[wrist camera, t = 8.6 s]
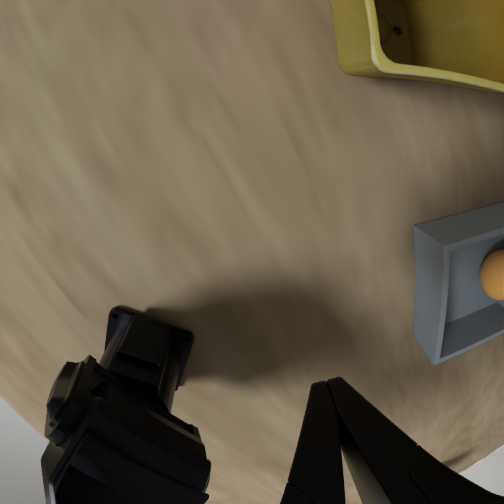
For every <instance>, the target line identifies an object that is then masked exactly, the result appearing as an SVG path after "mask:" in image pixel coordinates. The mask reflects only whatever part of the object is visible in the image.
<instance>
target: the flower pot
mask: <svg viewBox="0 0 504 504" xmlns="http://www.w3.org/2000/svg"><path fill="white" fill-rule="evenodd" d="M330 6H331V12H332V18H333V25H334V32H335V40H336V49H337V59H338V65H339V67H340V69H341V70H342V71H343V72H344V73H346V74H348V75H352V76H362V77H386V78H400V79H411V80H419V81H427V82H433V83H440V84H446V85H451V86H456V87H461V88H468V89H475V90H482V91H489V92H495V93H501V94H504V0H330ZM395 27H396V28H398V29H399V30H400V34H399V35H396V34H395V33H394V32H393V28H395Z"/></svg>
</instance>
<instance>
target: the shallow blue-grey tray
mask: <svg viewBox="0 0 504 504" xmlns="http://www.w3.org/2000/svg"><path fill="white" fill-rule="evenodd" d="M413 227H414V251H415V306H414V329H413V337H414V338H415V340H416V341H417V342H418V344H419V345H420V347H421V348H422V350H423V351H424V352H425V354H426V355H427V357H428V358H429V360H430V361H431V363H432V364H433V365H436V364H439V363H441V362H444V361H446V360H448V359H451V358H453V357H455V356H457V355H460V354H462V353H464V352H466V351H469V350H471V349H473V348H475V347H477V346H479V345H481V344H483V343H485V342H487V341H489V340H491V339H493V338H495V337H497V336H499V335H501V334H503V333H504V300H496V299H493V298H491V297H490V296H488V295H487V294H486V292H485V291H484V289H483V288H482V285H481V281H480V270H481V267H482V264H483V262H484V260H485V259H486V258H487V256H488V255H490V254H491V253H492V252H494V251H497V250H504V202H501V203H497V204H493V205H490V206H486V207H482V208H478V209H475V210H471V211H467V212H463V213H459V214H456V215H452V216H448V217H444V218H440V219H437V220H433V221H429V222H425V223H421V224H417V225H413Z"/></svg>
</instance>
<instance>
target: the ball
mask: <svg viewBox="0 0 504 504" xmlns="http://www.w3.org/2000/svg"><path fill="white" fill-rule="evenodd" d="M480 281H481V285H482V288H483V289H484V291H485V292H486V294H487V295H488V296H490V297H491V298H493V299H496V300H504V250H497V251H494V252H492V253H491V254H490V255H488V256H487V258H486V259H485V260H484V262H483V264H482V267H481V270H480Z"/></svg>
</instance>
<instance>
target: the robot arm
mask: <svg viewBox="0 0 504 504" xmlns="http://www.w3.org/2000/svg"><path fill="white" fill-rule="evenodd" d="M114 313H116V314H117V315H118V316H116V315H115V314H114ZM185 337H189V338H190V339H186V338H185ZM193 342H194V334H193V333H192V332H190V331H187V330H183V329H180V328H177V327H174V326H171V325H168V324H165V323H162V322H159V321H156V320H153V319H150V318H147V317H144V316H141V315H138V314H134V313H131V312H128V311H125V310H123V309H120V308H116V307H115V308H112V309H111V311H110V313H109V318H108V326H107V334H106V342H105V351H104V354H103V356H102V358H101V360H100V362H99V364H98V363H97V362H96V359H94V358H93V357H92V356H91V355H89V356H88V357H87V358H86V359H85V360H84V361H81V362H80V363H79V362H77V363H74V362H68V361H67V362H66V364H65V365H64V366H63V368H62V369H61V371H60V373H59V375H58V376H57V378H56V380H55V382H54V384H53V386H52V389H51V392H50V395H49V398H48V401H47V404H46V406H47V415H46V424H45V437H46V438H48V439H49V440H50V442H49V444H48V446H47V447H46V450H45V451H44V453H43V455H42V458H41V468H42V476H43V484H44V491H45V497H46V504H204V503H205V502H206V501H207V500H208V498H209V494H207V493H205V491H206V488H207V486H208V483H209V479H210V472H211V462H210V460H208V459H206V458H207V457H206V451H205V446H204V444H203V443H202V441H201V438H200V434H199V431H198V428H197V427H195V426H193V425H192V424H190V425H189V424H187V423H186V422H184V421H182V420H181V419H179V418H177V417H176V416H174V415H172V414H171V408H172V403H173V398H174V393H175V391H177V389H178V386H179V383H180V380H181V377H182V374H183V371H184V368H185V365H186V362H187V359H188V356H189V353H190V350H191V347H192V344H193ZM416 446H417V447H416ZM341 450H342V453H343V455H344V458H345V460H346V463H347V465H348V468H349V470H350V473H351V476H352V478H353V481H354V483H355V486H356V488H357V491H358V493H359V496H360V498H361V501H362V503H363V504H504V496H500V495H496V494H494V493H491V492H489V491H487V490H485V489H484V488H482V487H480V486H478V485H477V484H475V483H473V482H471V481H470V480H468V479H466V478H465V477H463V476H461V475H459V474H458V473H456V472H455V471H453V470H451V469H450V468H448V467H447V466H445V465H444V464H442V463H441V462H439V461H438V460H437V459H436V458H434V457H433V456H432V455H430V454H429V453H428V452H427V451H425V450H424V449H423V448H422V447H421V446H420V445H417V443H416V442H415V441H413V440H412V439H411V438H410V437H409V436H408V435H406V434H405V433H404V432H403V431H402V430H401V429H399V428H398V427H397V426H396V425H395V424H394V423H393V422H391V421H390V420H389V419H388V418H387V417H386V416H385V415H383V414H382V413H381V412H380V411H379V410H378V409H377V408H375V407H374V406H373V405H372V404H371V403H370V402H369V401H367V400H366V399H365V398H364V397H363V396H362V395H361V394H360V393H358V392H357V391H356V390H355V389H354V388H353V387H352V386H351V385H349V384H348V383H347V382H346V381H345V380H344V379H343V378H342V377H335V378H332V379H328V380H327V382H326V381H320V382H316V383H313V384H312V385H311V389H310V393H309V398H308V402H307V407H306V411H305V415H304V420H303V424H302V428H301V432H300V436H299V440H298V444H297V448H296V452H295V455H294V459H293V463H292V467H291V470H290V474H289V477H288V482H287V484H286V487H285V491H284V494H283V497H282V500H281V503H280V504H345V490H344V477H343V465H342V454H341Z"/></svg>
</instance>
